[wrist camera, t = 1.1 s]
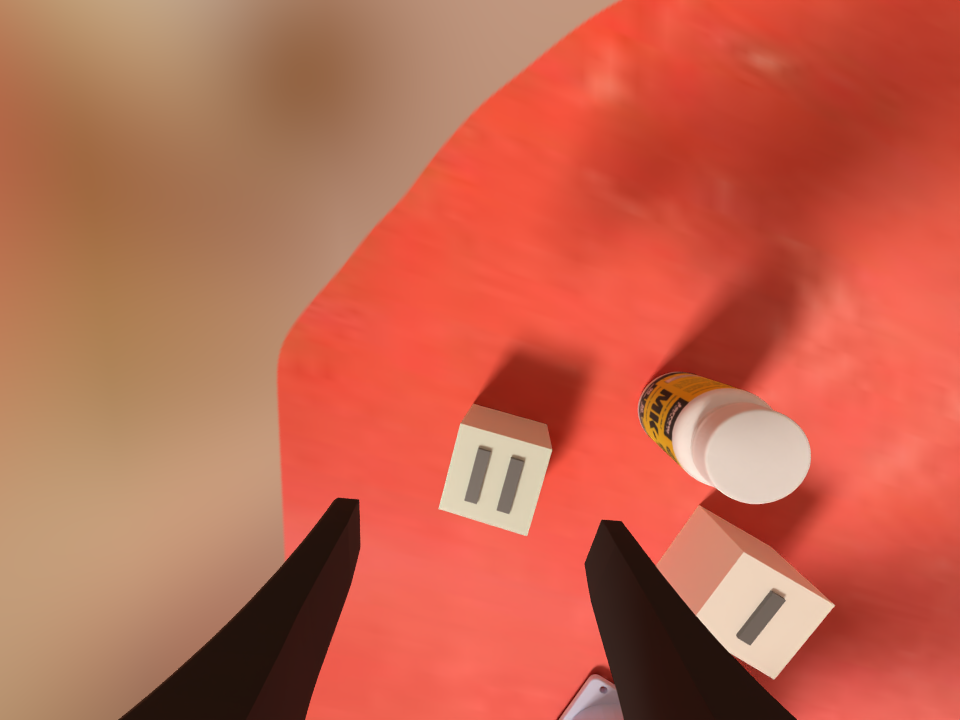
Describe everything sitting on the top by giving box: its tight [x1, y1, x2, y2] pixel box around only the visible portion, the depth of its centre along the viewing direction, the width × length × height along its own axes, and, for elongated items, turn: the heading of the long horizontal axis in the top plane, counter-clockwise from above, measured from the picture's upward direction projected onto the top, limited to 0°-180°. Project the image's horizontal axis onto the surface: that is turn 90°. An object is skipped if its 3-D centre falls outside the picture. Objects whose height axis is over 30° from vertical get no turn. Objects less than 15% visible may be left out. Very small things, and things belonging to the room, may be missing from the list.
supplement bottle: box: [638, 372, 811, 504], centre depth 19 cm, size 5×5×8 cm
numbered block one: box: [656, 505, 835, 679], centre depth 21 cm, size 5×5×5 cm
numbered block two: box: [439, 404, 552, 536], centre depth 22 cm, size 5×5×5 cm
